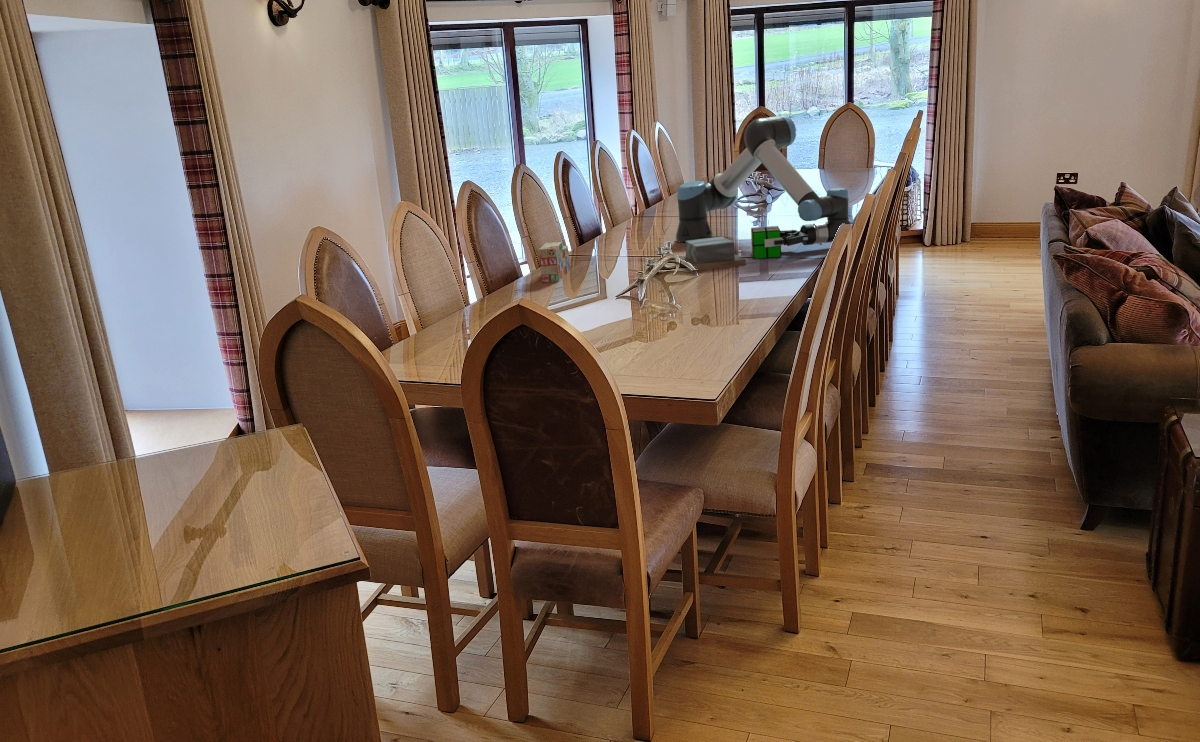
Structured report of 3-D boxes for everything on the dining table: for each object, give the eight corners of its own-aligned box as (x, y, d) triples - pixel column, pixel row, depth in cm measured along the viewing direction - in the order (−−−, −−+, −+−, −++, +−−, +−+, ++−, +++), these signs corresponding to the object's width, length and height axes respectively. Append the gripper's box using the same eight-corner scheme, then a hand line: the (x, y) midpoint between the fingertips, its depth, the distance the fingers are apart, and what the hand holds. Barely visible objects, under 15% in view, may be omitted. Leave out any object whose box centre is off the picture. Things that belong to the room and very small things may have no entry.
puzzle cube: (778, 252, 347) (778, 225, 344) (781, 257, 337) (780, 230, 334) (751, 254, 348) (750, 227, 345) (753, 259, 338) (752, 231, 335)
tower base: (676, 261, 345) (675, 240, 343) (728, 255, 348) (727, 234, 346) (691, 271, 326) (690, 248, 324) (745, 264, 329) (745, 242, 327)
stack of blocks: (554, 270, 349) (550, 238, 346) (570, 269, 348) (567, 237, 344) (541, 283, 329) (538, 248, 325) (559, 282, 328) (555, 247, 324)
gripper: (827, 249, 333) (770, 256, 329) (800, 239, 356) (747, 245, 353) (827, 228, 331) (770, 235, 327) (799, 219, 354) (746, 225, 351)
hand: (758, 240), depth 340 cm, fingers open, 13 cm apart
